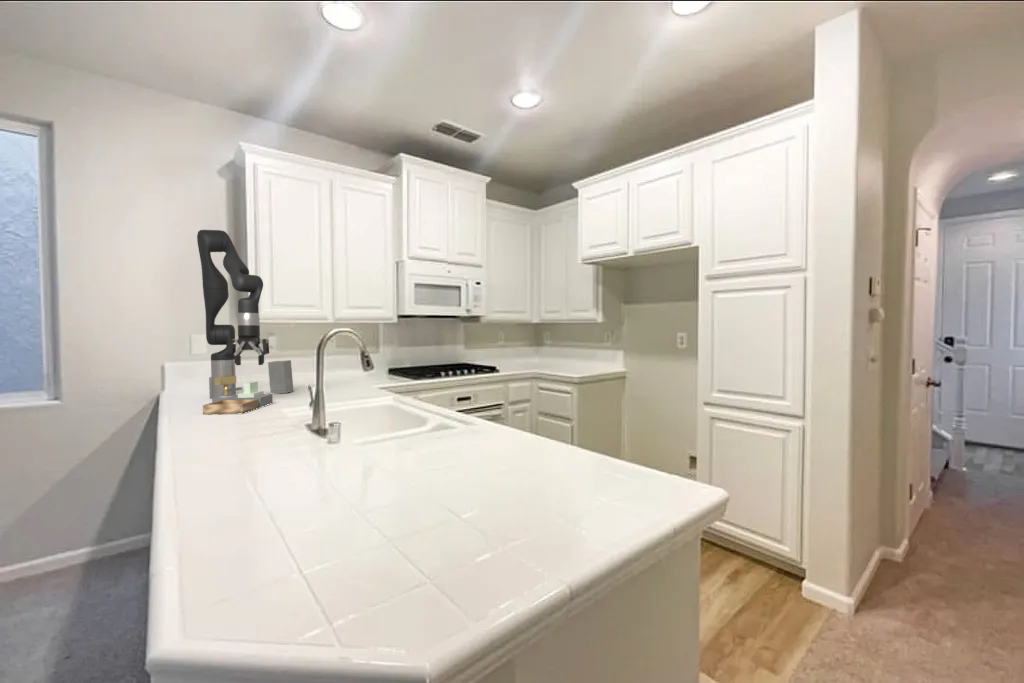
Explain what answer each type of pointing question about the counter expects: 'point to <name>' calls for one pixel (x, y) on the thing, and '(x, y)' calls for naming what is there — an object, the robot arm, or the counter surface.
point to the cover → (250, 390)
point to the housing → (262, 399)
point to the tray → (230, 406)
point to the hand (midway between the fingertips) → (249, 365)
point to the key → (226, 381)
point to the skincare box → (280, 376)
